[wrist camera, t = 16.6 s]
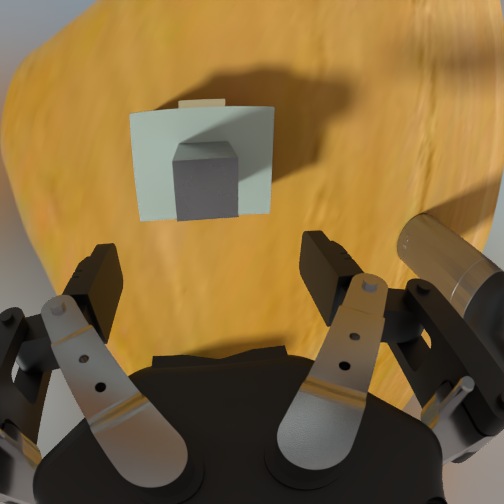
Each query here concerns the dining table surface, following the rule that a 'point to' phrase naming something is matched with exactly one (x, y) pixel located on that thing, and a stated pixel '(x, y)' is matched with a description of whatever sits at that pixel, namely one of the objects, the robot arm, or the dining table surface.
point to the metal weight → (205, 181)
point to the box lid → (201, 130)
